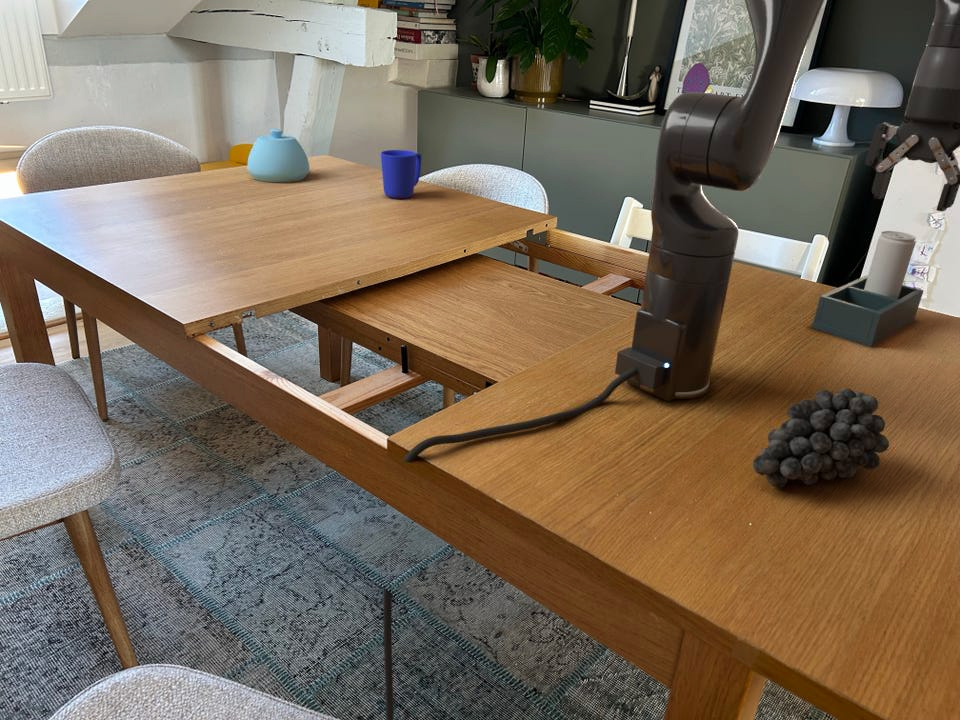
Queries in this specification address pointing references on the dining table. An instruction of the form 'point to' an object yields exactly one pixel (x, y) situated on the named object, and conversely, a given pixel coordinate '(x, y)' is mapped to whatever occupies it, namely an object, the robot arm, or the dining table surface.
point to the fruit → (824, 439)
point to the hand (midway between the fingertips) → (909, 204)
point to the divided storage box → (865, 312)
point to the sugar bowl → (277, 158)
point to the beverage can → (890, 263)
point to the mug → (400, 172)
